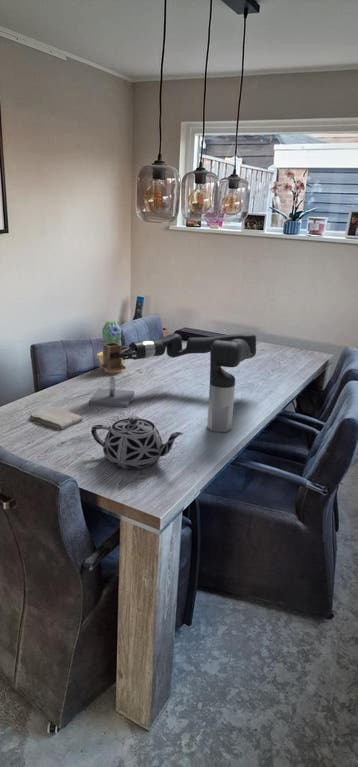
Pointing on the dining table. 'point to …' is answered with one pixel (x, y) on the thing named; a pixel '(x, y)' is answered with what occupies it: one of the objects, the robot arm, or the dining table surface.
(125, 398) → the post plate
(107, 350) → the flanged sleeve
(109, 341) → the potted cactus
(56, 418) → the washcloth
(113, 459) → the teapot
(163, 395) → the dining table surface
